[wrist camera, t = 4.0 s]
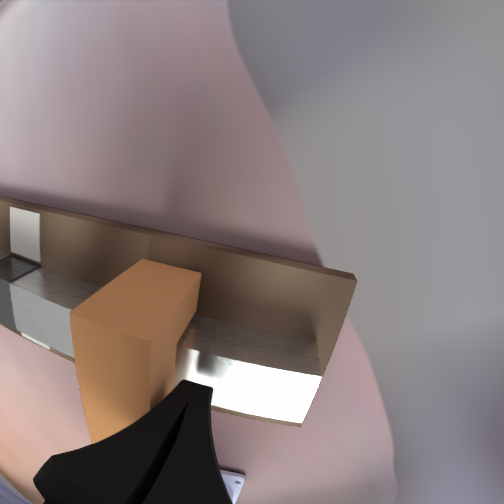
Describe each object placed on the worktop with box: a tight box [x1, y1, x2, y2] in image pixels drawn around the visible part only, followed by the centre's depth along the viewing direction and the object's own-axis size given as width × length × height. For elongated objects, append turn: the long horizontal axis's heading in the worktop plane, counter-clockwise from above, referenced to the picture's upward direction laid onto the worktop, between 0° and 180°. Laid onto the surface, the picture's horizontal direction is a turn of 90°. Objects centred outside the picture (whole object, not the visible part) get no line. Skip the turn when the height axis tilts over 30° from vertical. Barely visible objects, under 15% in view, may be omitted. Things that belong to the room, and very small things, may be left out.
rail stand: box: [0, 196, 357, 427], centre depth 15 cm, size 26×10×4 cm, turn 79°
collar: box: [69, 259, 202, 444], centre depth 13 cm, size 3×8×6 cm, turn 169°
